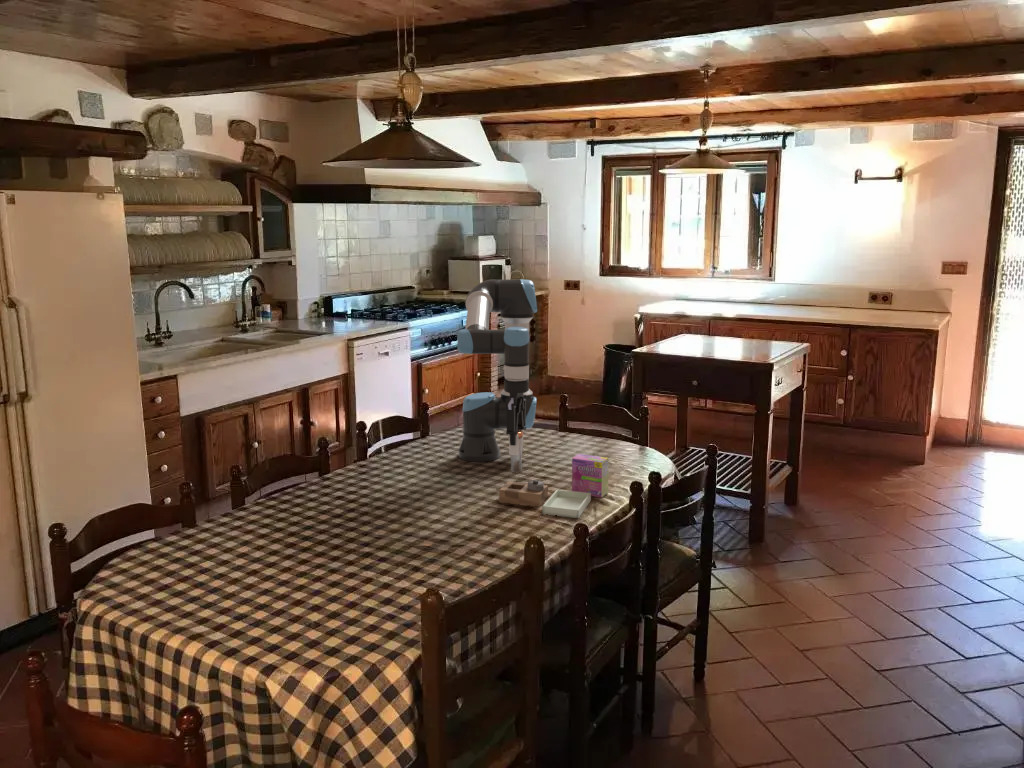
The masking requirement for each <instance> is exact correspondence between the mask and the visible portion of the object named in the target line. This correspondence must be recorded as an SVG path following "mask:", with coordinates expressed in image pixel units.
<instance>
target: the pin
mask: <svg viewBox="0 0 1024 768" xmlns="http://www.w3.org/2000/svg"><path fill="white" fill-rule="evenodd" d="M517 434H518V456H517V455H510V471H511V472H514V473H517V472H521V471H522V470H523V468H522V467H523V466H522V465H523V464H522V463H523V462H522V458H523V457H522V456H523V455H522V454H523V451H522V437H523V438H524V430H523V431H519V430H517Z"/></svg>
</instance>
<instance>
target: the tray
mask: <svg viewBox="0 0 1024 768" xmlns="http://www.w3.org/2000/svg"><path fill="white" fill-rule="evenodd" d="M545 501H546V502H545V503H543V504H542V505H541V506H542V507H541V509H542V510H541V511H542V513H541V514H542V515H546V514H548V515H547V516H555V515H557V517H565V518H574V519H579V518H580V517H581V516H582V514H583V513H584V512H585V510H586V508H588V506H589V504H590V503H591V502H592V496H591V493H586V492H576V491H572V490H565V489H555V491H554V492H553V493H552V494H551V495H550V497H548V498H547V499H546V500H545Z"/></svg>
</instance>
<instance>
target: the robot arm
mask: <svg viewBox="0 0 1024 768" xmlns="http://www.w3.org/2000/svg"><path fill="white" fill-rule="evenodd" d="M465 308H466V311H467V312H466V320H465V329H460V330H458V331H457V337H456V338H457V343H456V344H457V352H459V353H460V354H466V355H467V354H468V355H476V354H477V355H479V354H480V355H482V354H484V355H485V354H487V355H489V354H491V355H492V354H493V355H494V354H495V355H498V354H499V355H501V354H502V355H503V358H504V359H503V360H504V361H503V363H504V364H503V367H502V370H503V371H504V380H503V389H502V391H500V396H496V395H495V393H494V392H490V391H489V392H487V391H486V392H477V393H472V394H470V395H469V394H468V395H467V396H465V398H463V401H462V422H463V423H462V427H463V428H462V429H463V431H462V438H461V442H460V445H459V448H458V458H459V459H461V460H463V461H466V462H475V463H477V462H478V463H483V462H491V461H494V460H497V459H499V458H500V456H501V455H500V454H501V452H500V451H501V450H500V448H499V444H498V440H497V438H496V430H506V432H505V434H506V435H507V436H508V438H509V439H508V443H509V444H508V445H509V446H508V454H509V455H510V456H511V455H517V456H518V434H517V430H519V431H523V432H524V431H525V430H529V429H531V428H532V427H533V426H534V422H535V419H536V411H537V397H536V396H533V395H534V394H533V393H534V392H533V391H532V390H531V389H530V384H529V383H530V381H529V378H530V361H529V360H530V356H529V355H530V322H531V321H532V319H533V318H534V314H535V313H537V312H538V306H537V297H536V288H535V284H534V281H532V280H530V279H521V278H519V279H518V278H516V279H508V278H507V279H495V278H494V279H492V278H491V279H487V280H484V281H482V282H480V283H478V284H477V285H475V286H473V287H472V289H471V290H469V292H468V293H467V295H466V298H465ZM490 313H500V319H501V320H503V322H504V329H490V315H491V314H490ZM523 451H524V436H523V437H522V452H523Z"/></svg>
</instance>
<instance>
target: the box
mask: <svg viewBox="0 0 1024 768" xmlns="http://www.w3.org/2000/svg"><path fill="white" fill-rule="evenodd" d="M609 463H610V461H609V457H603V456H599V455H598V456H597V455H589V454H582V453H577V454H576V455H574V456H573V457H572V459H571V491H576V492H586V493H591V497H594V498H595V497H596V498H603V497H604V496H606V495H607V494H608V493H609V468H610V467H609V466H610V465H609Z"/></svg>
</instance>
